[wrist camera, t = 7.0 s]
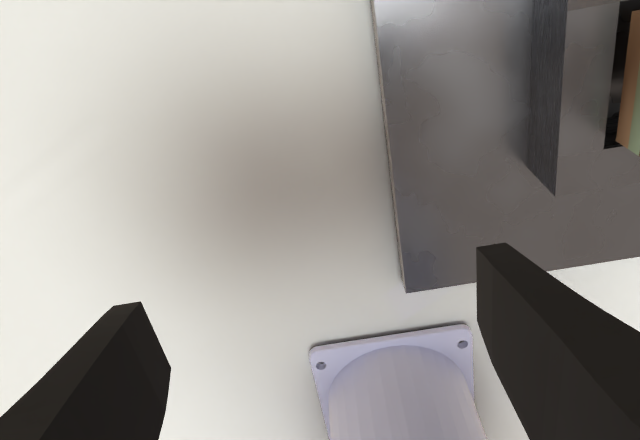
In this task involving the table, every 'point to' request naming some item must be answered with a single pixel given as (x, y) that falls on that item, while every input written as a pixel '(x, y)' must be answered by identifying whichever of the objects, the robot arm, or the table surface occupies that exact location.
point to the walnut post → (631, 91)
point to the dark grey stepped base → (506, 133)
